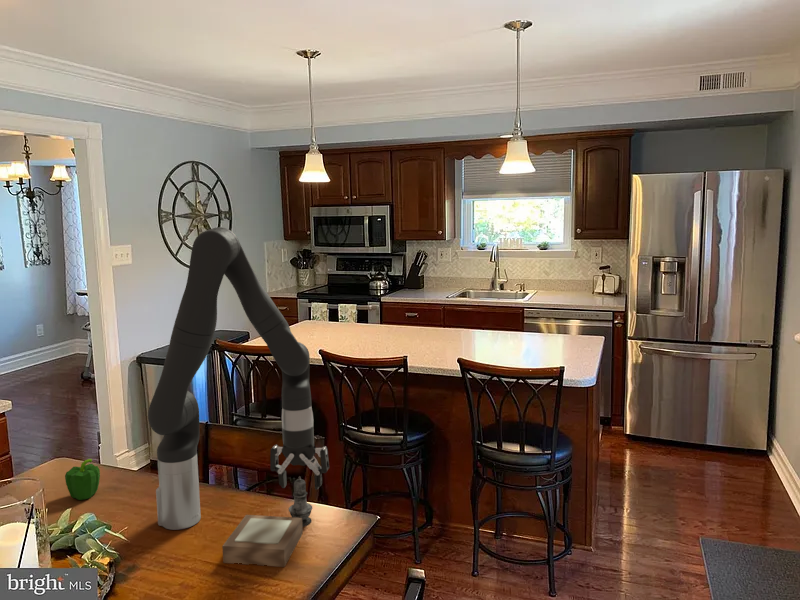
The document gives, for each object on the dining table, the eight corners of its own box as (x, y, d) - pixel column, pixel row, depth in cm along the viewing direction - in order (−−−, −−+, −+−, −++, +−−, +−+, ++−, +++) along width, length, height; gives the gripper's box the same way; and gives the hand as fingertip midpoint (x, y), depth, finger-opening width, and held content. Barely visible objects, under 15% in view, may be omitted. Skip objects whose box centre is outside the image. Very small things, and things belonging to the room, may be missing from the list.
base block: (223, 562, 134) (222, 544, 134) (246, 530, 148) (245, 513, 147) (284, 566, 132) (284, 548, 132) (302, 533, 146) (302, 516, 146)
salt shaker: (308, 528, 148) (306, 482, 147) (285, 526, 150) (283, 480, 148) (316, 517, 154) (314, 472, 152) (294, 514, 155) (292, 470, 154)
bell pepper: (67, 506, 161) (64, 470, 159) (66, 493, 168) (63, 459, 167) (102, 498, 165) (99, 463, 163) (100, 487, 172) (97, 453, 171)
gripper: (264, 429, 145) (267, 493, 148) (322, 430, 143) (325, 495, 146) (274, 418, 153) (278, 479, 155) (330, 419, 151) (332, 481, 153)
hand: (300, 487), depth 150 cm, fingers open, 8 cm apart
